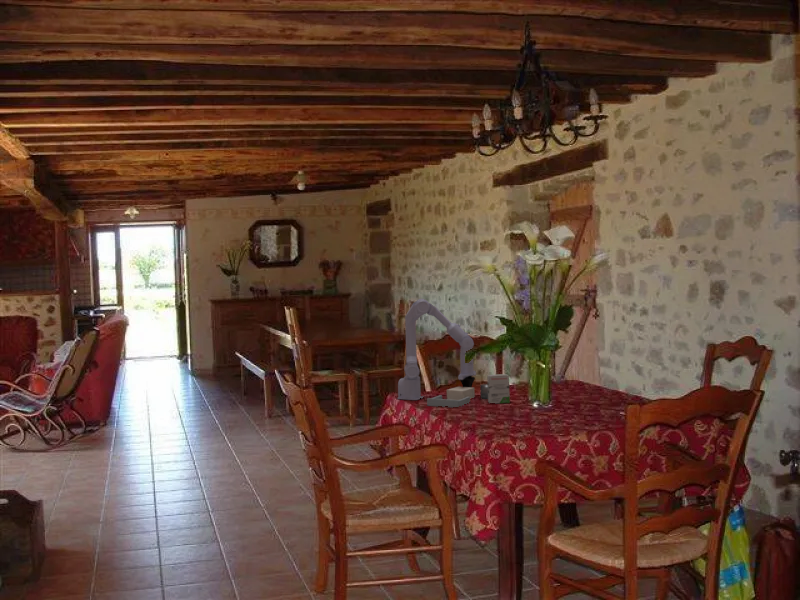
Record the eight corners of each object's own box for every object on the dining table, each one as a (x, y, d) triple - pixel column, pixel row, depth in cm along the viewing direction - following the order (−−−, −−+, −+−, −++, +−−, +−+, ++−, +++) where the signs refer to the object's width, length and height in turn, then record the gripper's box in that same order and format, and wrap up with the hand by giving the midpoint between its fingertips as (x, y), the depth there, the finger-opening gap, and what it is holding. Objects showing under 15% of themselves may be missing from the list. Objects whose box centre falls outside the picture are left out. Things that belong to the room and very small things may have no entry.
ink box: (507, 401, 374) (507, 373, 373) (510, 403, 369) (509, 375, 368) (487, 401, 373) (487, 374, 372) (489, 403, 368) (489, 375, 367)
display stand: (427, 405, 367) (427, 398, 367) (440, 400, 378) (440, 393, 378) (457, 407, 361) (457, 400, 361) (470, 402, 372) (469, 395, 372)
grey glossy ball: (478, 399, 380) (478, 385, 379) (483, 397, 385) (483, 383, 385) (491, 400, 377) (491, 386, 376) (496, 398, 382) (496, 384, 382)
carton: (446, 401, 378) (446, 389, 378) (458, 397, 387) (458, 386, 386) (463, 402, 374) (462, 391, 374) (474, 399, 382) (474, 387, 382)
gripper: (468, 365, 378) (469, 396, 378) (481, 361, 390) (482, 391, 391) (453, 364, 381) (454, 395, 382) (467, 360, 394) (467, 390, 394)
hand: (467, 393), depth 387 cm, fingers closed
